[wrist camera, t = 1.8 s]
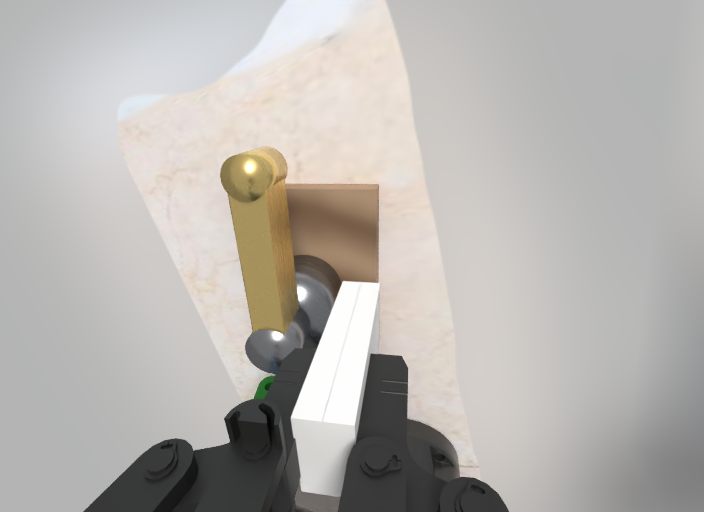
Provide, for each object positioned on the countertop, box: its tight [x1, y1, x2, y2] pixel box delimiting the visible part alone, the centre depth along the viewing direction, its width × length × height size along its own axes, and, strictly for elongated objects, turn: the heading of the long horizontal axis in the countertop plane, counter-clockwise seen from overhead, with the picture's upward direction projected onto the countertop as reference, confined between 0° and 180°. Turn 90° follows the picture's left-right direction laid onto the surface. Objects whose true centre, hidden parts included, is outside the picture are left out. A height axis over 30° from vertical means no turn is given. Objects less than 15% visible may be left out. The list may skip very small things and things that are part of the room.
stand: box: [228, 184, 379, 350], centre depth 36 cm, size 20×14×2 cm
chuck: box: [293, 255, 341, 349], centre depth 33 cm, size 13×7×6 cm, turn 2°
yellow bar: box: [220, 147, 311, 374], centre depth 25 cm, size 16×4×4 cm, turn 2°
